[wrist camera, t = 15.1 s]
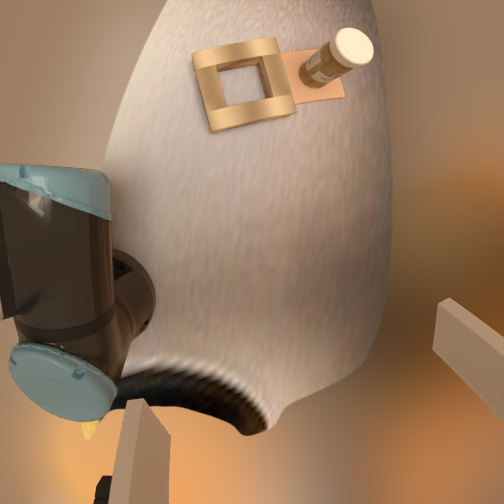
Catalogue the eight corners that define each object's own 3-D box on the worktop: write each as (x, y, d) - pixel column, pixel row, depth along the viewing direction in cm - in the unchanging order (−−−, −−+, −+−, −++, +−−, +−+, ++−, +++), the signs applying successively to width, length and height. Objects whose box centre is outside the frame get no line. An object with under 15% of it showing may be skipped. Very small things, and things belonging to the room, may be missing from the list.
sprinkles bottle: (313, 94, 37) (357, 71, 24) (291, 71, 35) (327, 37, 23) (334, 78, 36) (382, 52, 24) (313, 55, 35) (354, 20, 22)
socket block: (211, 133, 38) (211, 131, 34) (192, 62, 34) (191, 53, 30) (288, 115, 38) (297, 112, 35) (269, 46, 35) (275, 37, 31)
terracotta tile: (292, 104, 38) (294, 103, 37) (278, 54, 35) (280, 52, 34) (342, 97, 38) (345, 96, 38) (329, 49, 36) (331, 48, 35)
